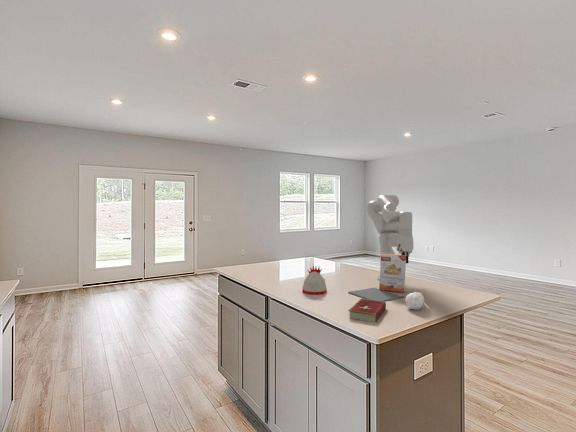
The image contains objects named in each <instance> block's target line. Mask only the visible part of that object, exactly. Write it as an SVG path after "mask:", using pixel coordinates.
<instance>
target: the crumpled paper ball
mask: <svg viewBox="0 0 576 432" xmlns="http://www.w3.org/2000/svg"><path fill="white" fill-rule="evenodd" d="M405 304H406V309H408V310H413V311H417V310H420V309H421V308H422V307H423V305H424V306H425V307H426V308H427V309H429V308H430V307H429V306H428V304H426V303H425V297H424V295H423V293H422V292H419V291H418V292H417V291H414V292H410V293H408V294H407V295H406V297H405Z"/></svg>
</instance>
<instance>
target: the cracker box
mask: <svg viewBox="0 0 576 432" xmlns="http://www.w3.org/2000/svg"><path fill="white" fill-rule="evenodd" d="M379 265H380V264H379ZM379 267H380V268H379V276H380V280H379V284H378V289H379V290H384V291H387V292H399V293H405V289H406V288H405V287H406V285H405V284H406V267H407V263H406V255H401V254H397V253H395V254H383V253H381V265H380V266H379Z"/></svg>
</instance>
